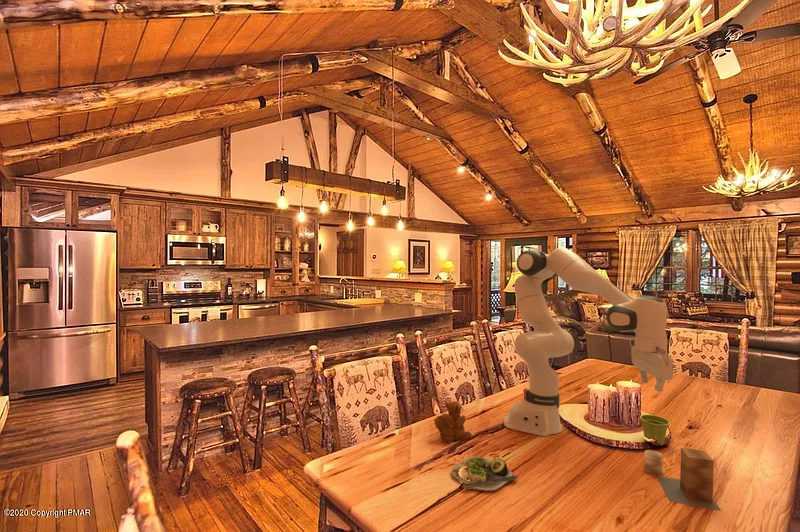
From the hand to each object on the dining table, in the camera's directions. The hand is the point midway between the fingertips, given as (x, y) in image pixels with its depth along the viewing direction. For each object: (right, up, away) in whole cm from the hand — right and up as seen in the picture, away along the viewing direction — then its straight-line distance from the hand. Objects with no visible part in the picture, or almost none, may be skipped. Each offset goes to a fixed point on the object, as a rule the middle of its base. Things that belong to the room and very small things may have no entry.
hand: (651, 386), depth 132 cm
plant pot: (+11, -26, +17) cm, 33 cm away
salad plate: (-57, -26, -7) cm, 63 cm away
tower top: (+2, -20, -17) cm, 27 cm away
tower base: (+2, -26, -17) cm, 31 cm away
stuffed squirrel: (-64, -25, +18) cm, 71 cm away
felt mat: (0, -26, -16) cm, 31 cm away
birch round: (-2, -26, -4) cm, 27 cm away
